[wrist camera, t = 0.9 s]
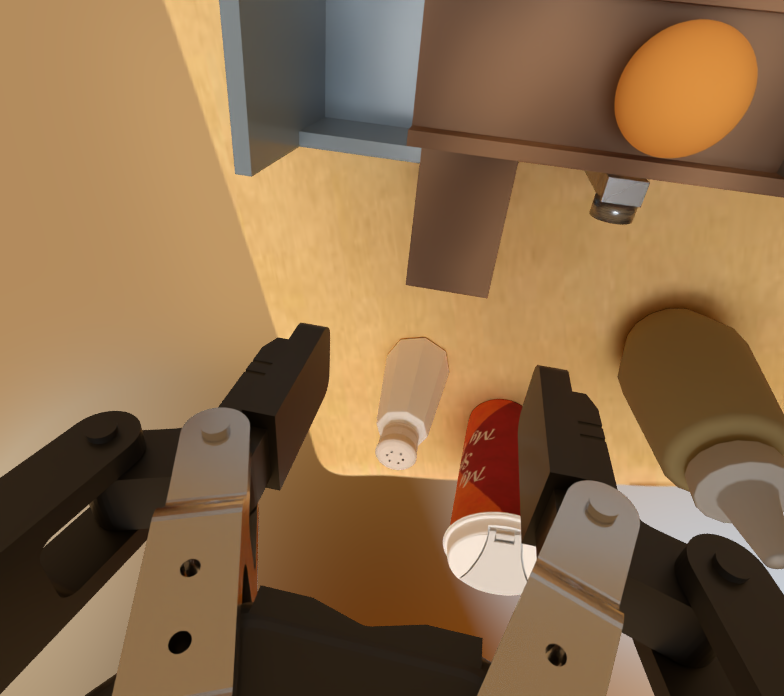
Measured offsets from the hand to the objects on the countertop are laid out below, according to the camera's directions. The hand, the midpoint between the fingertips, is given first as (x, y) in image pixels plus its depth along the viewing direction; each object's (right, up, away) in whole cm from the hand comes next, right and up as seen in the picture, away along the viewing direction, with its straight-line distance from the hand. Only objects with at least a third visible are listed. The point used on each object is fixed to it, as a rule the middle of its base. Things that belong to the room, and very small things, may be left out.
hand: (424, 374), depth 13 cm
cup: (0, +19, +16) cm, 25 cm away
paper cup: (+9, -6, +31) cm, 33 cm away
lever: (+8, +8, +8) cm, 14 cm away
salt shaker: (+1, 0, +29) cm, 29 cm away
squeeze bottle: (+20, +1, +24) cm, 31 cm away
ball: (+9, +9, +3) cm, 13 cm away
